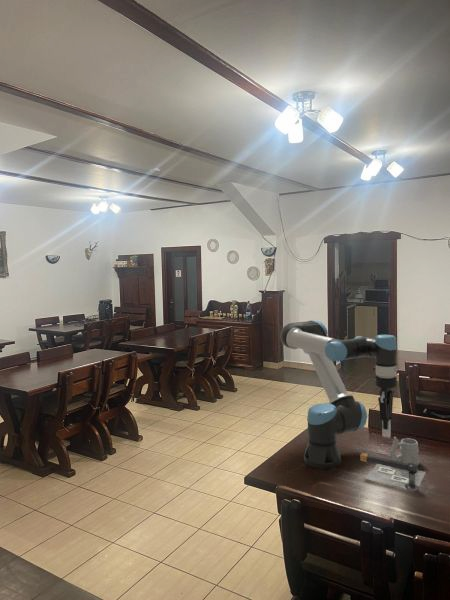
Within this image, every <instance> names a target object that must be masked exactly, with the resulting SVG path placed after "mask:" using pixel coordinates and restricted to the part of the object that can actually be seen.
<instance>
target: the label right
mask: <svg viewBox="0 0 450 600" xmlns="http://www.w3.org/2000/svg"><path fill="white" fill-rule="evenodd" d="M390 480H392V481H396V482H400V483H404V484H407V483H408V482H409V478H405V477H400V476H396V475H393V476H392V477H391V479H390Z"/></svg>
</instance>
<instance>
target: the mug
mask: <svg viewBox="0 0 450 600" xmlns="http://www.w3.org/2000/svg"><path fill="white" fill-rule="evenodd" d="M398 446H399V450H400V454H398V455H397V454H396V450H397V448H398ZM419 452H420V450H419V443H418V441H417V440H416V439H414V438H408V437H407V438H402V439H401V440H400V441H399V440H398V438H397V437H396V436H393V442H392V445H391V447H390V451H389V454H390V460H393V461H398V462H402V463H407V464H408V463H414V464H416V465H417V467H418V466H419V465H420V464H421V463H420V458H419Z"/></svg>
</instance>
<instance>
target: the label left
mask: <svg viewBox="0 0 450 600" xmlns="http://www.w3.org/2000/svg"><path fill="white" fill-rule="evenodd" d="M377 472H381V473H385V474H390V475H394V474H395V472H396V470H393V469H388V468H384V467H380V468H379V469H378V471H377Z"/></svg>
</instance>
